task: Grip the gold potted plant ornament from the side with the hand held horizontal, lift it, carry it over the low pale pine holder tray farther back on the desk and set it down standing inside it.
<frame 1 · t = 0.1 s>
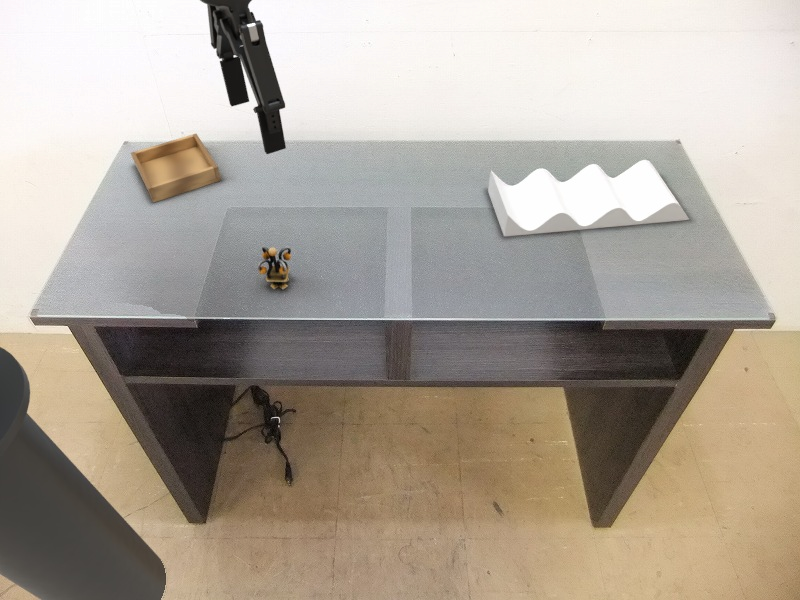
hand: (256, 125, 83), 27 cm above the table, tool pointing down, fingers open, 13 cm apart
holder: (178, 173, 121), on the table
white wavy block: (585, 206, 113), on the table
gold potted plant ornament: (280, 284, 101), on the table
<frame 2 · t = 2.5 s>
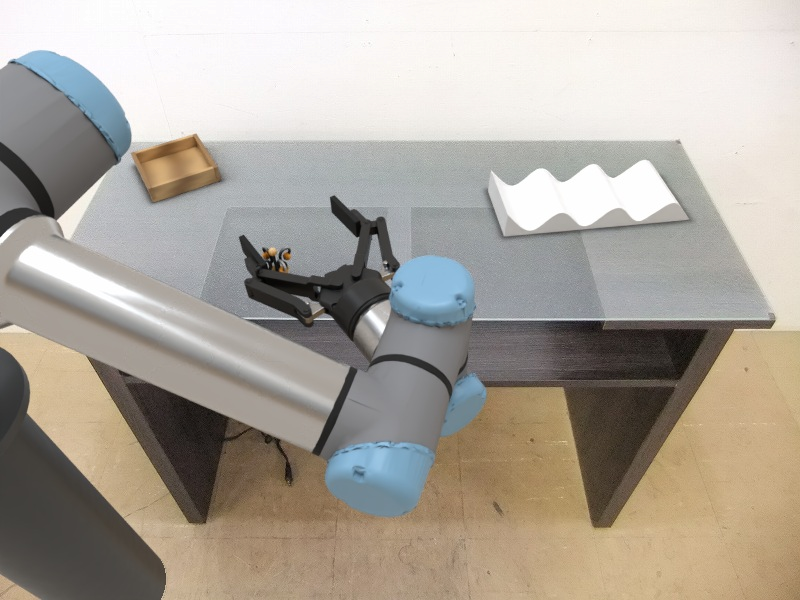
hand: (289, 222, 80), 20 cm above the table, tool horizontal, fingers open, 13 cm apart
nothing on the table moved.
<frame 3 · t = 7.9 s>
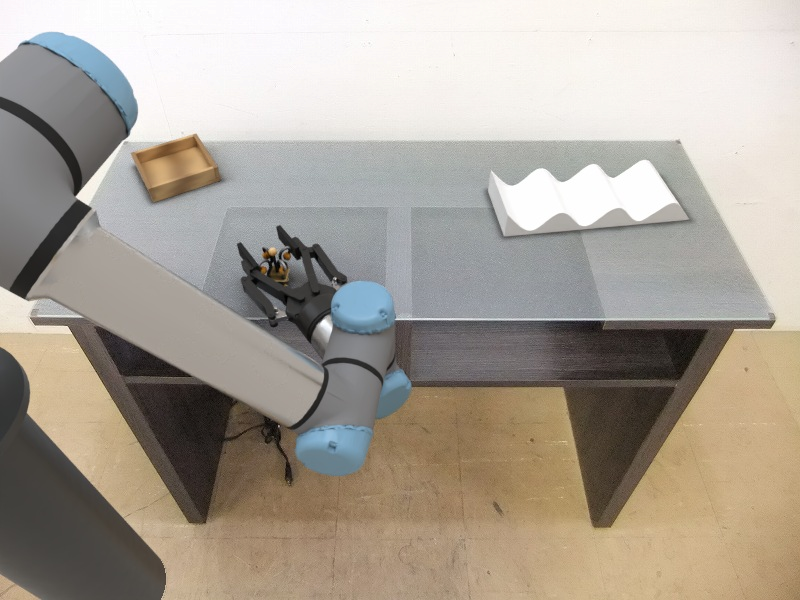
hand: (260, 240, 99), 6 cm above the table, tool horizontal, fingers closed on gold potted plant ornament, 6 cm apart
gold potted plant ornament: (280, 284, 100), on the table, touching gripper
everything else where it was.
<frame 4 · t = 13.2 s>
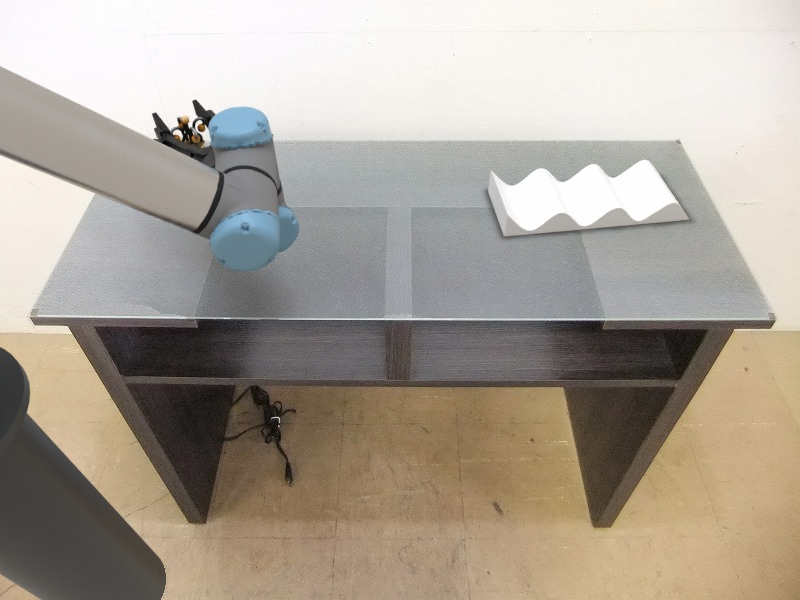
hand: (176, 113, 103), 18 cm above the table, tool horizontal, fingers closed on gold potted plant ornament, 6 cm apart
gold potted plant ornament: (197, 158, 104), point 12 cm above the table, touching gripper
everything else where it was.
when the fingers open (7 cm above the table, at t = 18.5 s): gold potted plant ornament stays where it is, resting on holder.
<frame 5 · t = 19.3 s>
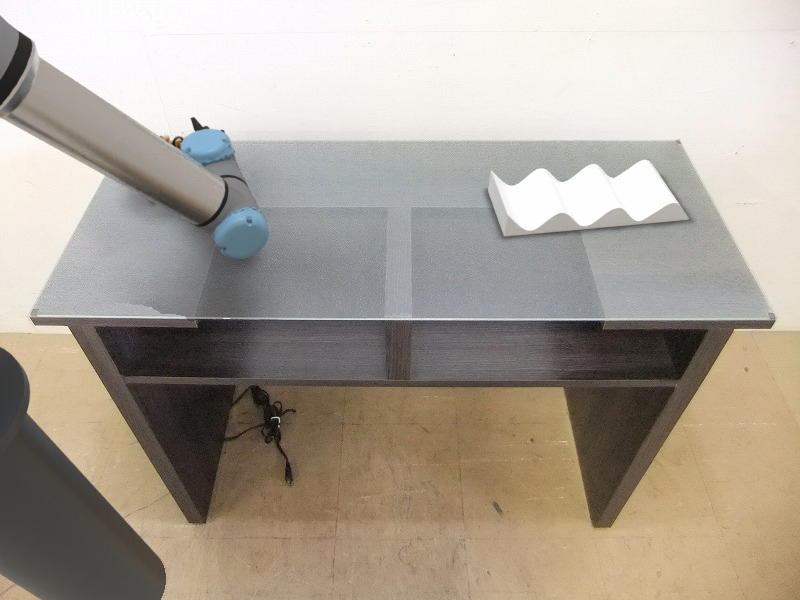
hand: (161, 134, 117), 7 cm above the table, tool horizontal, fingers open, 13 cm apart
gold potted plant ornament: (177, 170, 120), point 1 cm above the table, touching holder
everything else where it was.
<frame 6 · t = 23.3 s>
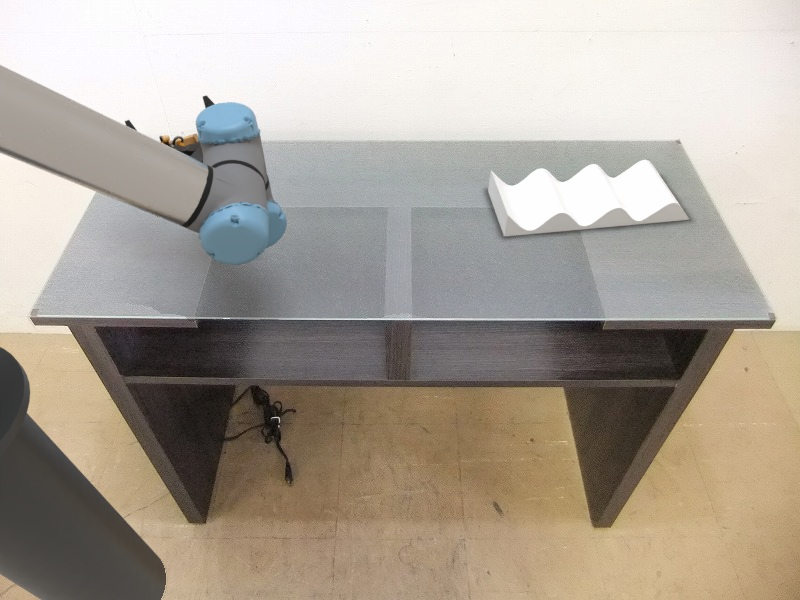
hand: (168, 114, 102), 18 cm above the table, tool horizontal, fingers open, 13 cm apart
nothing on the table moved.
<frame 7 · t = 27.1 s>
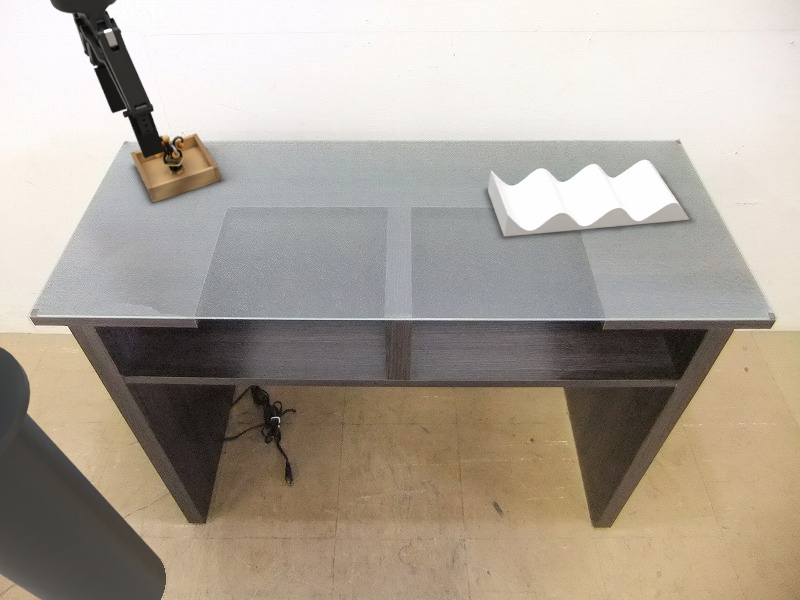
hand: (137, 130, 83), 27 cm above the table, tool pointing down, fingers open, 13 cm apart
nothing on the table moved.
at the end: gold potted plant ornament inside the target area in the holder (0.0 cm from its centre), point 0.6 cm above the holder's base; gold potted plant ornament tilted 0°; the gripper is holding nothing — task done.
